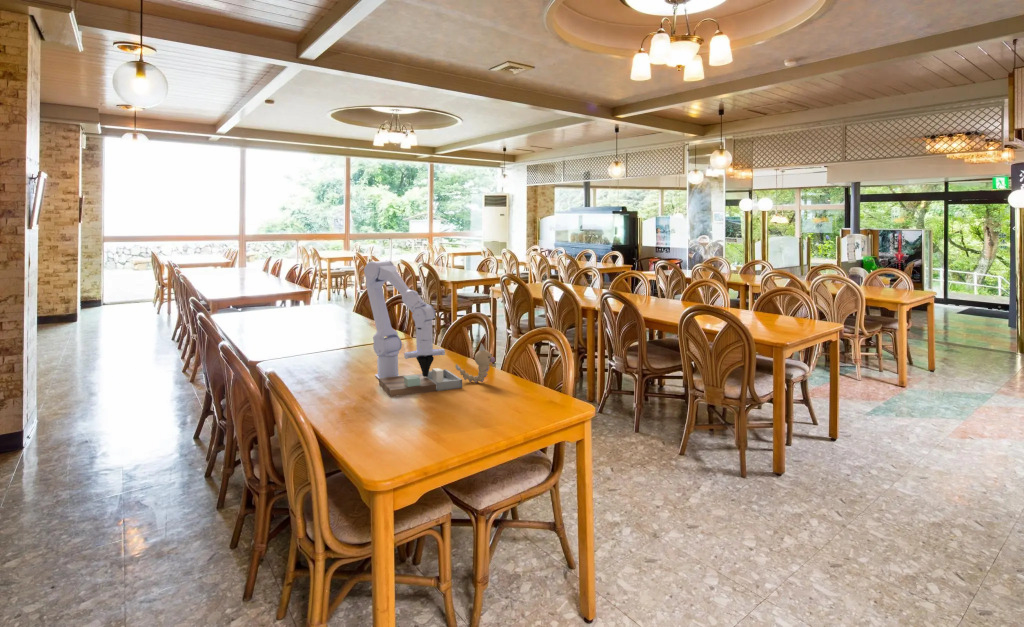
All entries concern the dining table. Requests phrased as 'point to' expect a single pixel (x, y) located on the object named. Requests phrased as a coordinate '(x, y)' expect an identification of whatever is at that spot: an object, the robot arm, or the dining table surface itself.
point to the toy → (483, 361)
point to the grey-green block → (412, 380)
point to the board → (398, 388)
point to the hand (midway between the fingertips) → (425, 376)
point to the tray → (447, 381)
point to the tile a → (437, 375)
